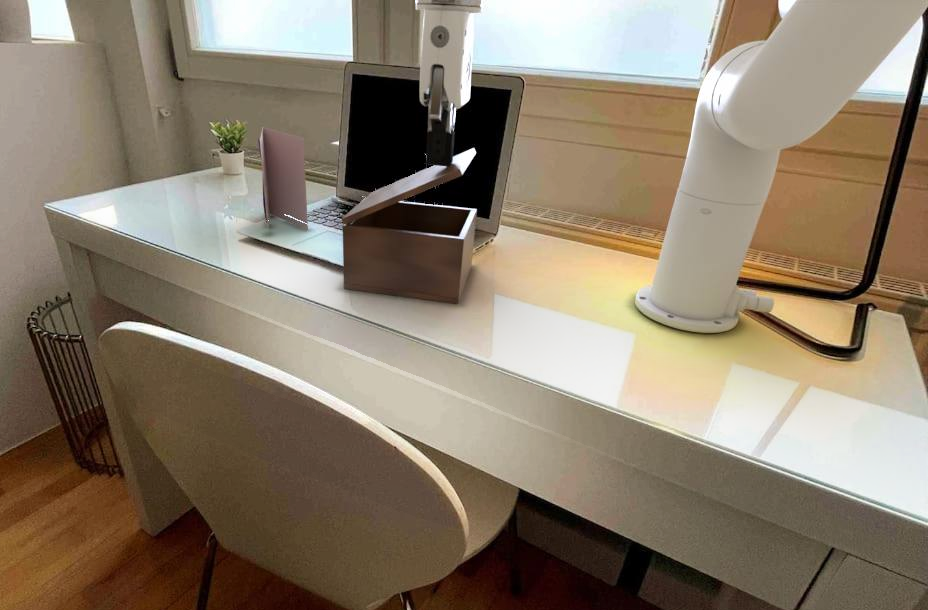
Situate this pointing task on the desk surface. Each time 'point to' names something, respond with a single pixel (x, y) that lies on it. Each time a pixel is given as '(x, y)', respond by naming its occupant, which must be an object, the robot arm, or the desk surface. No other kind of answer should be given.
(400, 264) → the box
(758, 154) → the robot arm
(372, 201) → the box lid
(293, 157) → the greeting card
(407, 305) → the desk surface
